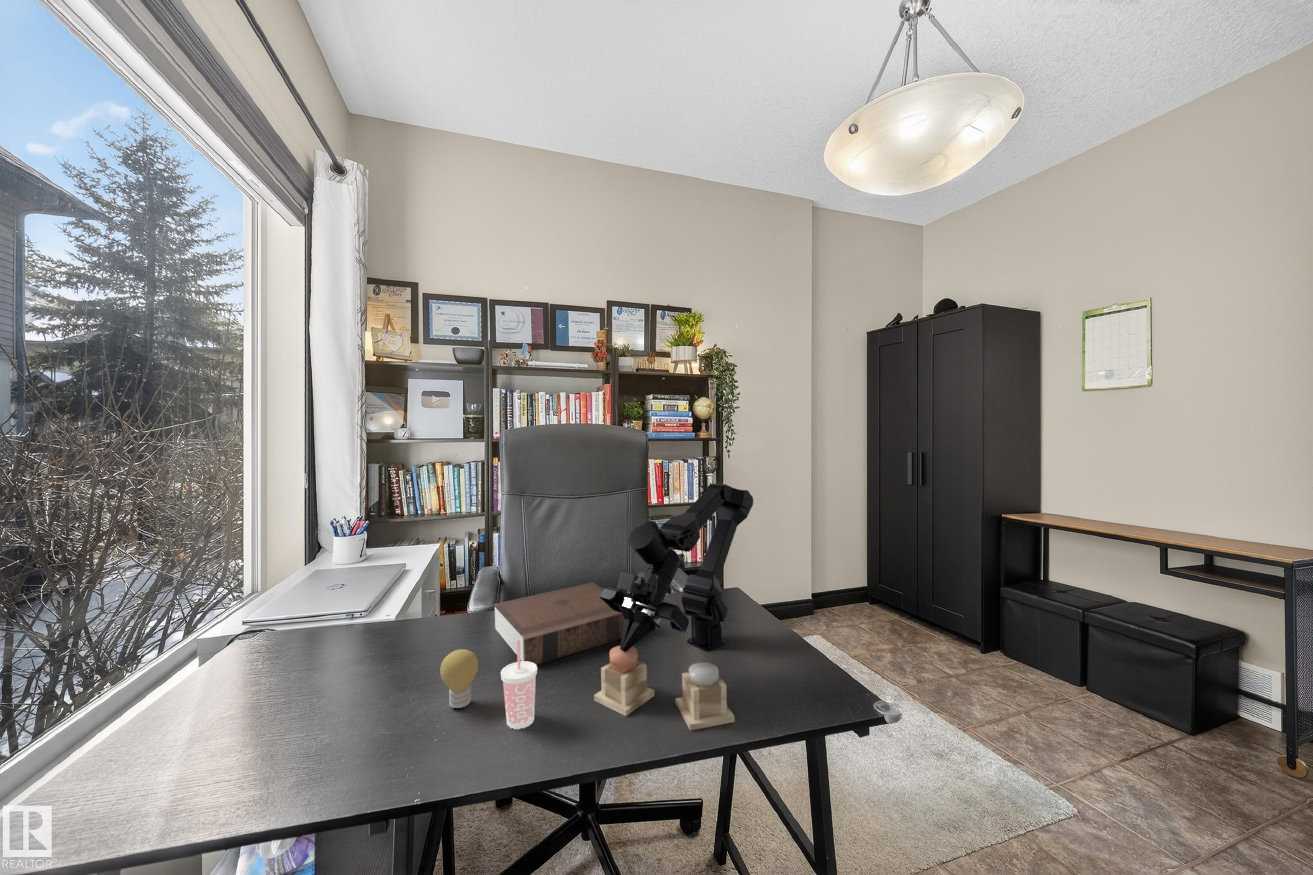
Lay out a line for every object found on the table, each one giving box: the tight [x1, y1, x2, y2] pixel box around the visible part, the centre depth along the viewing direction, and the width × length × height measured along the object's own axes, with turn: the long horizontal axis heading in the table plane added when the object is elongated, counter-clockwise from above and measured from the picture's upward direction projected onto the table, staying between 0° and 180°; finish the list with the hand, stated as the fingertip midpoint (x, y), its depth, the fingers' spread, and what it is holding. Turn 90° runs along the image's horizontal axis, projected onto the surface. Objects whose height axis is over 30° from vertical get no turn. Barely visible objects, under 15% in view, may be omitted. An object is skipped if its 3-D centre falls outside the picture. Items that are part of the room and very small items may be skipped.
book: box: [492, 581, 624, 665], centre depth 120 cm, size 24×28×7 cm
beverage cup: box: [500, 641, 538, 730], centre depth 83 cm, size 6×6×14 cm
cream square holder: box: [593, 660, 656, 717], centre depth 90 cm, size 8×8×6 cm
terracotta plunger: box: [609, 645, 639, 674], centre depth 90 cm, size 5×5×6 cm
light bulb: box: [439, 649, 479, 709], centre depth 88 cm, size 6×6×10 cm
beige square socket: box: [675, 671, 736, 731], centre depth 85 cm, size 8×8×6 cm
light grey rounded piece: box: [688, 662, 720, 687], centre depth 85 cm, size 5×5×6 cm
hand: (622, 650), depth 89 cm, fingers closed, pressing on terracotta plunger
